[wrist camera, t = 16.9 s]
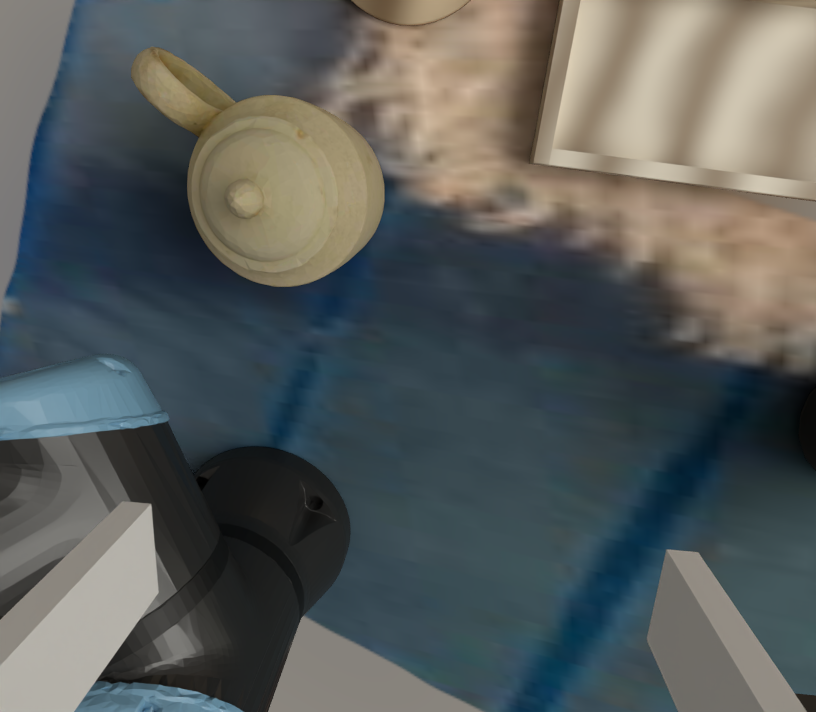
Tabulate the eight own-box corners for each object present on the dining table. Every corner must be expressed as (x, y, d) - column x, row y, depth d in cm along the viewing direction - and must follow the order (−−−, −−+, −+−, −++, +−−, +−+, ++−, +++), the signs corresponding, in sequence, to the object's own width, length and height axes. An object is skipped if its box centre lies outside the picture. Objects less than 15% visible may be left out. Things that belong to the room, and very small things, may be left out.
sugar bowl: (174, 219, 43) (30, 239, 29) (208, 66, 40) (64, 3, 25) (359, 289, 43) (307, 343, 29) (408, 143, 40) (377, 123, 26)
